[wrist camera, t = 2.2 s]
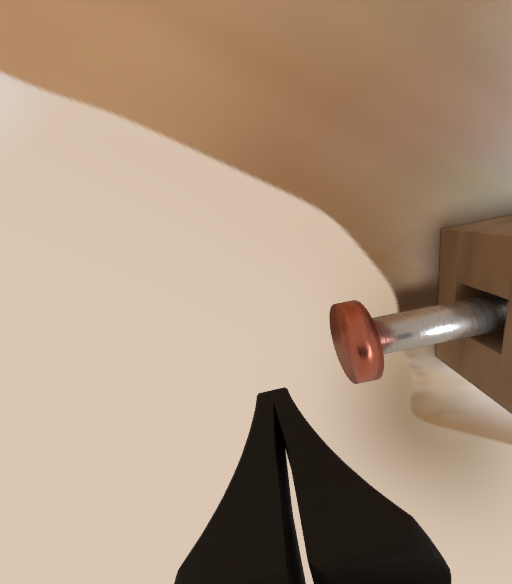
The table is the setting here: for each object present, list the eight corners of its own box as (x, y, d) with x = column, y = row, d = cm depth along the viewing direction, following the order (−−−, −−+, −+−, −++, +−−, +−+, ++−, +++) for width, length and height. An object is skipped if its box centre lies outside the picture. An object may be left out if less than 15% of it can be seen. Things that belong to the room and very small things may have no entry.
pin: (507, 257, 17) (605, 275, 12) (498, 321, 18) (583, 358, 14) (326, 293, 17) (358, 325, 12) (333, 354, 18) (363, 402, 14)
